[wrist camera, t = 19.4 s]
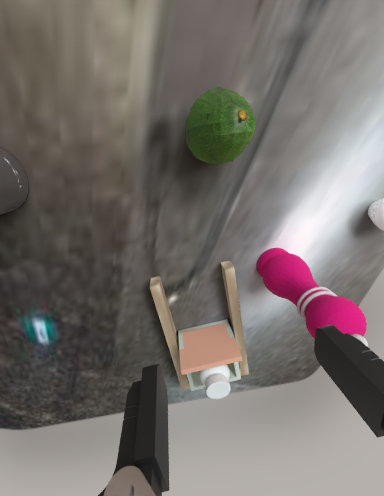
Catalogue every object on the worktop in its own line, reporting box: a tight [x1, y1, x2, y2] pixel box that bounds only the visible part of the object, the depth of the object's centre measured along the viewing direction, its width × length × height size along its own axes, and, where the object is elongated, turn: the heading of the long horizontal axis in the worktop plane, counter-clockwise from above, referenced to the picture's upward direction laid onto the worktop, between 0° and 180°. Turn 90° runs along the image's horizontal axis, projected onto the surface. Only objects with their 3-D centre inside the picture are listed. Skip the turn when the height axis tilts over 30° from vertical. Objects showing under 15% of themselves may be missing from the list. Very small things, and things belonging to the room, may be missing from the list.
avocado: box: [185, 87, 256, 164], centre depth 26 cm, size 8×8×12 cm
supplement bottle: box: [199, 364, 230, 399], centre depth 40 cm, size 5×5×10 cm
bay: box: [150, 261, 249, 390], centre depth 42 cm, size 14×25×3 cm, turn 11°
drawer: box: [178, 319, 242, 391], centre depth 41 cm, size 10×11×9 cm
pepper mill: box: [257, 248, 368, 347], centre depth 31 cm, size 7×7×20 cm
